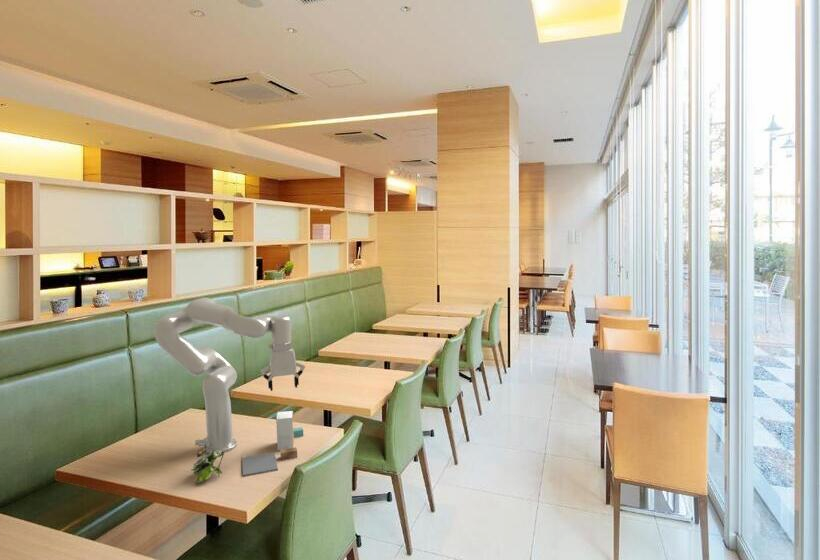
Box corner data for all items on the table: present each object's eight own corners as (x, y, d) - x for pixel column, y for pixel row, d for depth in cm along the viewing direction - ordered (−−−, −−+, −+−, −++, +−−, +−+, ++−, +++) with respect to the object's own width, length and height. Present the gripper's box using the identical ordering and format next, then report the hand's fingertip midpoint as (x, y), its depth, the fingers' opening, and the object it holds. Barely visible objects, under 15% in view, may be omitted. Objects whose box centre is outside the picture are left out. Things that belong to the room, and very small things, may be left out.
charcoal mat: (243, 476, 168) (243, 474, 168) (242, 459, 181) (242, 457, 181) (277, 470, 172) (277, 468, 172) (274, 453, 185) (274, 452, 185)
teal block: (289, 439, 199) (288, 432, 199) (288, 436, 202) (287, 429, 202) (303, 436, 201) (303, 429, 201) (302, 433, 204) (302, 427, 204)
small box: (293, 449, 189) (292, 417, 188) (277, 450, 188) (275, 419, 187) (294, 440, 197) (292, 410, 196) (278, 442, 196) (277, 411, 194)
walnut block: (281, 460, 180) (281, 453, 179) (280, 457, 183) (280, 449, 182) (297, 458, 182) (297, 450, 182) (296, 454, 185) (296, 447, 184)
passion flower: (203, 487, 171) (210, 453, 177) (229, 485, 168) (234, 450, 174) (181, 483, 162) (189, 447, 168) (208, 481, 159) (215, 444, 165)
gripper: (259, 351, 182) (262, 394, 184) (305, 346, 188) (306, 388, 190) (258, 346, 189) (260, 388, 191) (302, 342, 195) (304, 383, 197)
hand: (283, 388), depth 190 cm, fingers open, 9 cm apart
